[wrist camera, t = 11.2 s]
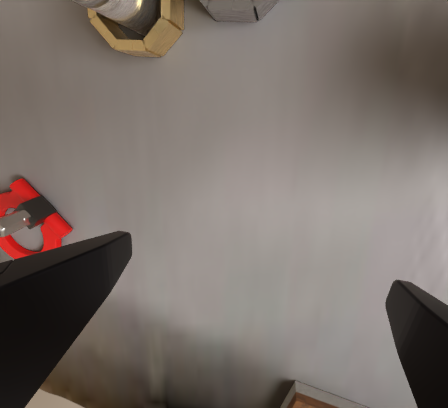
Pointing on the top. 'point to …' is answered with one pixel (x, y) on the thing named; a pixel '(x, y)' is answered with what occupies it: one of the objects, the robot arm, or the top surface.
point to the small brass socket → (154, 41)
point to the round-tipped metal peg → (128, 12)
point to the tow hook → (29, 219)
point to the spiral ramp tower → (314, 398)
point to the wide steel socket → (238, 9)
